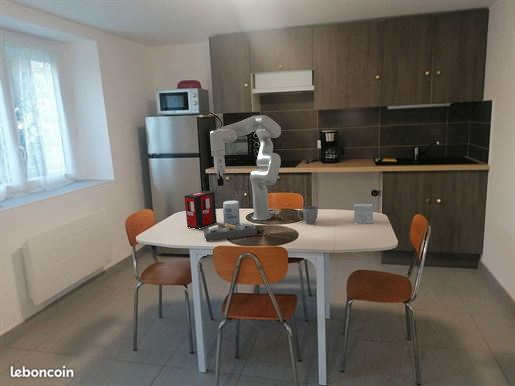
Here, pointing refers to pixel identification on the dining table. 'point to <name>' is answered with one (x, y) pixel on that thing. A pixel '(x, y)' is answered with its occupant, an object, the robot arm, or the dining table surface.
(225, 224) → the rocker middle
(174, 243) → the dining table surface
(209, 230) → the rocker
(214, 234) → the power strip
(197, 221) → the cleaning product box
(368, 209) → the skincare box
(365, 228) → the dining table surface
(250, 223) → the rocker
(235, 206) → the supplement tub
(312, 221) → the mug
